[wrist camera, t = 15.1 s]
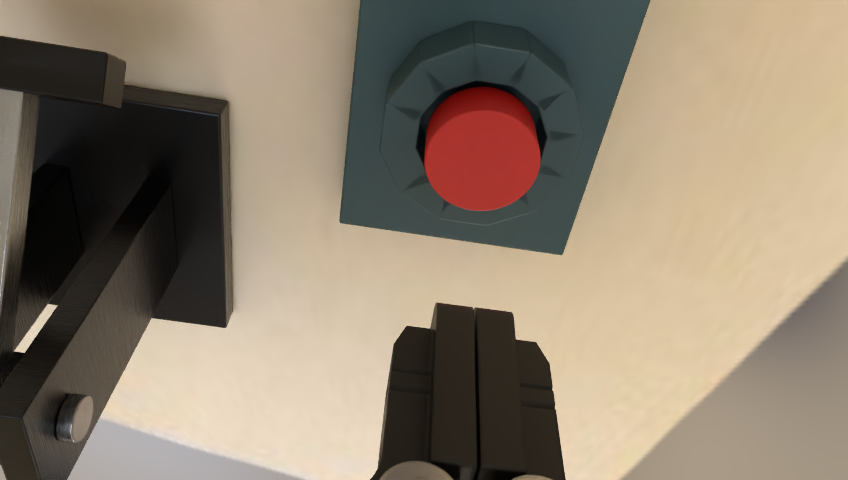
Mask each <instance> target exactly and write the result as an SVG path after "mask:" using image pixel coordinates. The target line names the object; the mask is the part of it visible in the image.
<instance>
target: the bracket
mask: <svg viewBox="0 0 848 480" xmlns="http://www.w3.org/2000/svg"><path fill="white" fill-rule="evenodd" d="M47 304H52V305H58V306H57V307H56V309H55V310H54V312H53V313H52V315H51V316H50V318H49V319H48V320H47V322H46V323H45V325H44V326H43V328H42V329H41V330H40V332H39V333H38V335H37V336H36V338H35V339H34V340H33V342H32V343H31V345H30V346H29V348H28V349H27V350H26V352H25V353H24V355H23V356H22V358H21V359H20V361H19V362H18V363H17V365H16V366H15V368H14V369H13V371H12V372H11V373H10V375H9V376H8V378H7V379H6V381H5V382H4V383H3V385H2V386H1V388H0V463H1V466H2V468H3V471H4V474H5V477H6V480H67V478H68V477H69V475H70V473H71V471H72V469H73V467H74V465H75V463H76V461H77V459H78V457H79V456H80V454H81V452H82V450H83V448H84V446H85V444H86V442H87V440H88V438H89V436H90V434H91V433H92V430H93V429H94V427H95V425H96V423H97V421H98V419H99V417H100V415H101V413H102V412H103V410H104V408H105V406H106V404H107V402H108V400H109V398H110V396H111V394H112V392H113V391H114V389H115V387H116V385H117V383H118V381H119V379H120V377H121V375H122V373H123V371H124V369H125V368H126V366H127V364H128V362H129V360H130V358H131V356H132V354H133V352H134V350H135V348H136V347H137V345H138V343H139V341H140V339H141V337H142V335H143V333H144V331H145V329H146V327H147V326H148V324H149V322H150V320H151V318H156V319H163V320H170V321H178V322H185V323H193V324H200V325H207V326H215V327H222V328H226V327H227V324H228V322H229V319H230V317H231V314H232V312H233V305H232V257H231V208H230V160H229V112H228V102H227V101H222V100H216V99H209V98H203V97H196V96H190V95H183V94H177V93H170V92H164V91H157V90H151V89H144V88H138V87H131V86H125V85H124V87H123V96H122V104H121V108H120V109H115V108H109V107H102V106H96V105H89V104H82V103H76V102H69V101H63V100H56V99H50V98H43V97H40V104H39V113H38V123H37V132H36V142H35V151H34V160H33V170H32V179H31V189H30V198H29V208H28V217H27V226H26V236H25V245H24V255H23V264H22V274H21V283H20V292H19V302H18V311H17V321H16V330H15V340H14V349H13V352H14V350H15V349H16V347H17V346H18V345H19V343H20V342H21V341H22V339H23V338H24V336H25V335H26V334H27V332H28V331H29V329H30V328H31V327H32V325H33V324H34V322H35V321H36V320H37V318H38V317H39V315H40V314H41V313H42V311H43V310H44V308H45V307H46V306H47Z"/></svg>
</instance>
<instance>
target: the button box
mask: <svg viewBox="0 0 848 480" xmlns="http://www.w3.org/2000/svg"><path fill="white" fill-rule="evenodd" d="M649 3H650V0H360V9H359V20H358V30H357V41H356V51H355V62H354V72H353V83H352V93H351V104H350V114H349V125H348V135H347V146H346V156H345V167H344V177H343V188H342V199H341V209H340V220H339V221H340V223H344V224H350V225H357V226H364V227H371V228H378V229H385V230H392V231H399V232H405V233H412V234H419V235H426V236H433V237H440V238H447V239H454V240H460V241H467V242H474V243H481V244H488V245H495V246H502V247H509V248H516V249H522V250H529V251H536V252H543V253H550V254H557V255H562V254H563V252H564V249H565V246H566V243H567V240H568V238H569V235H570V232H571V229H572V226H573V223H574V220H575V217H576V214H577V212H578V209H579V206H580V203H581V200H582V197H583V194H584V191H585V188H586V185H587V183H588V180H589V177H590V174H591V171H592V168H593V165H594V162H595V159H596V156H597V154H598V151H599V148H600V145H601V142H602V139H603V136H604V133H605V130H606V127H607V125H608V122H609V119H610V116H611V113H612V110H613V107H614V104H615V101H616V99H617V96H618V93H619V90H620V87H621V84H622V81H623V78H624V75H625V72H626V70H627V67H628V64H629V61H630V58H631V55H632V52H633V49H634V46H635V43H636V41H637V38H638V35H639V32H640V29H641V26H642V23H643V20H644V17H645V14H646V12H647V9H648V6H649ZM473 87H492V88H497V89H501V90H503V91H506V92H508V93H510V94H512V95H514V96H515V97H516V98H518V99H519V100H520V101H521V102H522V103H523V104H524V105H525V106H526V107H527V109H528V110H529V112H530V114H531V116H532V118H533V120H534V124H535V129H536V134H537V139H538V144H539V149H540V157H541V159H540V168H539V172H538V175H537V177H536V179H535V181H534V183H533V184H532V186H531V187H530V189H529V190H528V191H527V192H526V193H525V194H524V195H523V196H522V197H520V198H519V199H518V200H516V201H515V202H513V203H511V204H509V205H507V206H504V207H502V208H498V209H494V210H488V211H474V210H468V209H463V208H460V207H457V206H455V205H453V204H451V203H449V202H448V201H446V200H445V199H443V198H442V197H441V196H440V195H439V194H438V193H437V192H436V191H435V190H434V188H433V187H432V186H431V184H430V182H429V180H428V178H427V175H426V172H425V167H424V156H425V143H426V131H427V126H428V123H429V120H430V118H431V116H432V114H433V112H434V111H435V109H436V108H437V107H438V106H439V105H440V104H441V103H442V102H443V101H444V100H445V99H447V98H448V97H449V96H451V95H453V94H454V93H456V92H459V91H461V90H464V89H468V88H473Z"/></svg>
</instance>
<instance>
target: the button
mask: <svg viewBox="0 0 848 480" xmlns="http://www.w3.org/2000/svg"><path fill="white" fill-rule="evenodd" d="M540 159H541V157H540V149H539V144H538V139H537V134H536V129H535V124H534V120H533V118H532V116H531V114H530V112H529V110H528V109H527V107H526V106H525V105H524V104H523V103H522V102H521V101H520V100H519V99H518V98H516V97H515V96H514V95H512V94H510V93H508V92H506V91H503V90H501V89H497V88H492V87H473V88H468V89H464V90H461V91H459V92H456V93H454V94H453V95H451V96H449V97H448V98H447V99H445V100H444V101H443V102H442V103H441V104H440V105H439V106H438V107H437V108H436V109H435V111H434V112H433V114H432V116H431V118H430V120H429V123H428V126H427V131H426V143H425V156H424V167H425V172H426V175H427V178H428V180H429V182H430V184H431V186H432V187H433V188H434V190H435V191H436V192H437V193H438V194H439V195H440V196H441V197H442V198H443V199H445V200H446V201H448V202H449V203H451V204H453V205H455V206H457V207H460V208H463V209H468V210H474V211H488V210H494V209H498V208H502V207H504V206H507V205H509V204H511V203H513V202H515V201H516V200H518V199H519V198H520V197H522V196H523V195H524V194H525V193H526V192H527V191H528V190H529V189H530V187H531V186H532V184H533V183H534V181H535V179H536V177H537V175H538V172H539V168H540Z"/></svg>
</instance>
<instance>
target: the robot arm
mask: <svg viewBox="0 0 848 480" xmlns="http://www.w3.org/2000/svg"><path fill="white" fill-rule="evenodd" d="M552 387H553V386H552V379H551V372H550V364H549V362H548V361H547V359H546V357H545V356H544V354H543V353H542V351H541V349H540V348H539V346H538V345H537V343H536V342H530V341H522V340H516V338H515V327H514V317H513V313H512V312H506V311H498V310H490V309H483V308H475V309H474V311H473V307H466V306H458V305H451V304H443V303H436V304H435V308H434V313H433V318H432V323H431V328H430V329H427V328H420V327H412V326H406V328H405V329H404V330H403V332H402V333H401V335H400V336H399V338H398V339H397V340H396V342H395V343H394V346H393V353H392V359H391V365H390V372H389V378H388V385H387V391H386V398H385V407H384V416H383V425H382V434H381V443H380V452H379V461H378V469H377V471H376V473H375V474H374V476H373V477H372V478H371V479H370V480H566V479H565V473H564V466H563V459H562V451H561V444H560V437H559V430H558V422H557V415H556V410H555V401H554V393H553V391H552Z"/></svg>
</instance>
